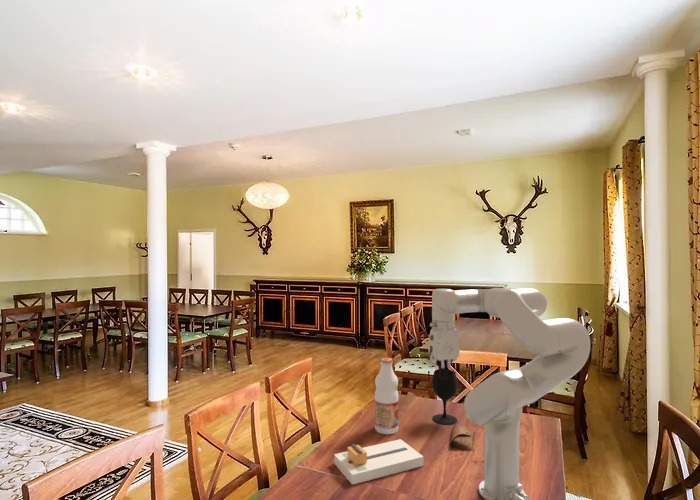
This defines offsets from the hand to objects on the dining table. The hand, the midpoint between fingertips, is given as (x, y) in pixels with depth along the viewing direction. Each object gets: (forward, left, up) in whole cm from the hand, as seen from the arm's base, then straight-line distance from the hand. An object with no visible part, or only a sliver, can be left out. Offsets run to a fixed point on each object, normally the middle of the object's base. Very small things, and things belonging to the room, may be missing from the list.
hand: (443, 378), depth 141 cm
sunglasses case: (+8, -16, -28) cm, 33 cm away
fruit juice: (+28, +6, -27) cm, 40 cm away
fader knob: (+6, +30, -24) cm, 39 cm away
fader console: (+6, +22, -27) cm, 35 cm away
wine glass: (+26, -21, -27) cm, 43 cm away
